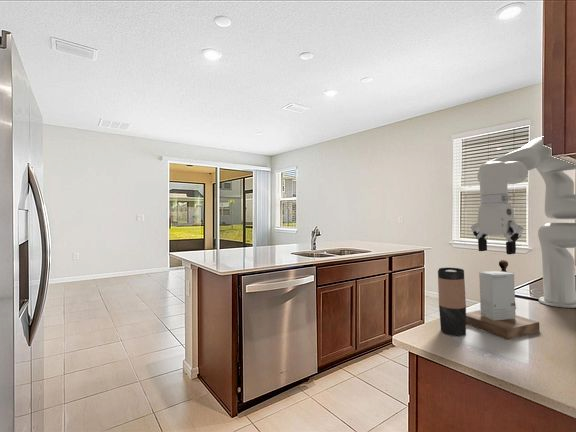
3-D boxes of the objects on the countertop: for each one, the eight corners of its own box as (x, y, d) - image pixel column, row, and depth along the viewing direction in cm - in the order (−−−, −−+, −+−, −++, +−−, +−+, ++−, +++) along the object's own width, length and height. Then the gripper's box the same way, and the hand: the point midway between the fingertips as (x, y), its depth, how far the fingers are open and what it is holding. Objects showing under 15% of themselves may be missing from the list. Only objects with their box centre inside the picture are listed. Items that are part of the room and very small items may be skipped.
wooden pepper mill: (509, 303, 126) (507, 258, 126) (519, 308, 120) (517, 261, 120) (491, 303, 127) (489, 259, 127) (501, 308, 121) (499, 261, 120)
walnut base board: (491, 316, 113) (491, 308, 113) (539, 331, 98) (539, 322, 98) (461, 322, 108) (461, 313, 108) (507, 339, 93) (506, 329, 93)
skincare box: (493, 321, 100) (491, 274, 100) (479, 315, 106) (477, 271, 106) (517, 319, 101) (515, 273, 101) (502, 313, 107) (500, 269, 107)
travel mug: (472, 334, 98) (470, 270, 98) (451, 338, 96) (448, 272, 96) (454, 326, 105) (452, 266, 105) (434, 329, 104) (432, 268, 103)
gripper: (529, 198, 96) (532, 254, 97) (478, 201, 113) (480, 248, 113) (512, 199, 94) (514, 256, 94) (462, 202, 110) (465, 250, 111)
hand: (496, 252), depth 104 cm, fingers open, 9 cm apart
